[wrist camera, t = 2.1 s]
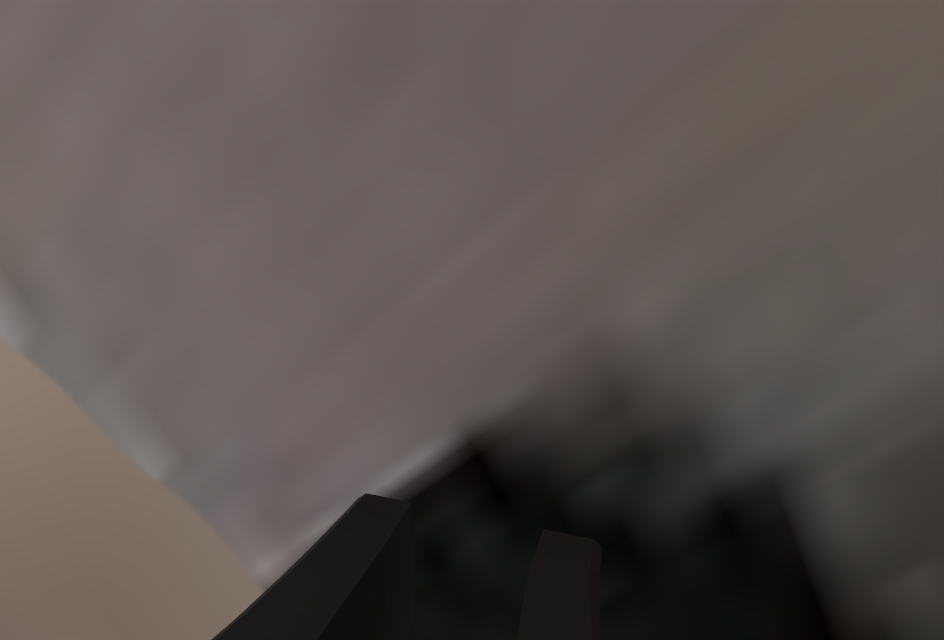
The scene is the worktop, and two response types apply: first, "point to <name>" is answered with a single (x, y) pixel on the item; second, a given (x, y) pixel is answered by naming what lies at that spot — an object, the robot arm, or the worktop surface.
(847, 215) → the worktop surface
